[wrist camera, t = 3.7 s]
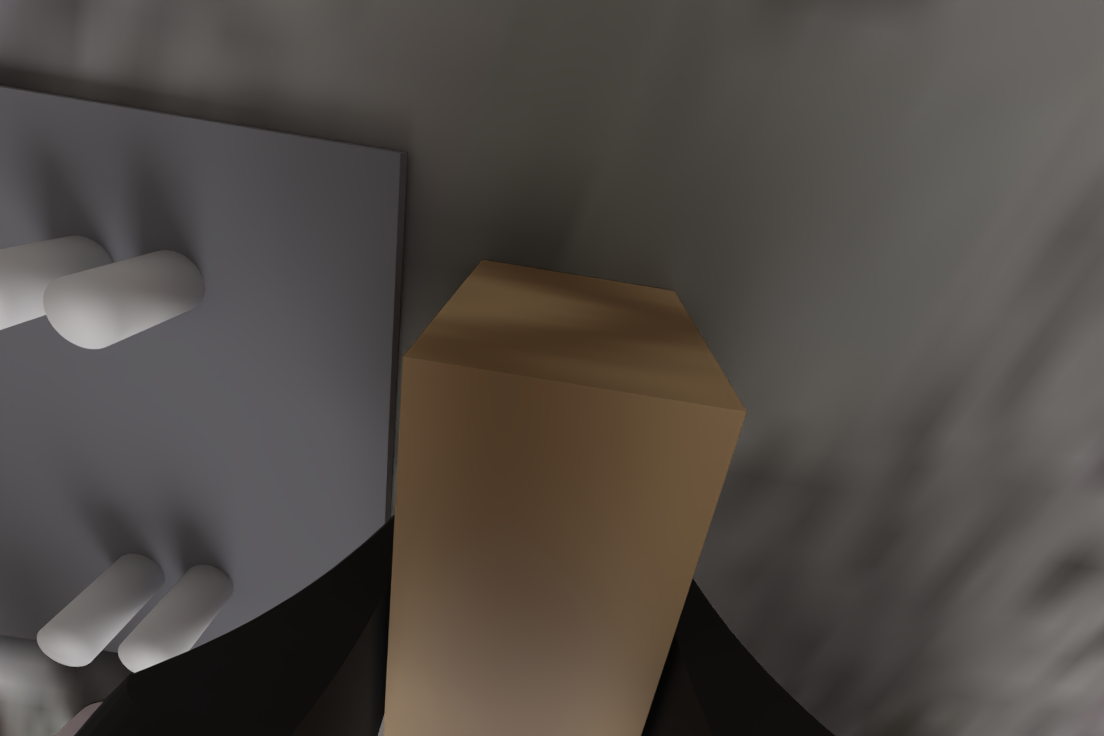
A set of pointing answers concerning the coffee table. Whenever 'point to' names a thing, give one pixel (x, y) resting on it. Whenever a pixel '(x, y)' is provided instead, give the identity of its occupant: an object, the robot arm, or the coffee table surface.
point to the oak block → (549, 504)
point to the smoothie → (78, 720)
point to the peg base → (186, 370)
